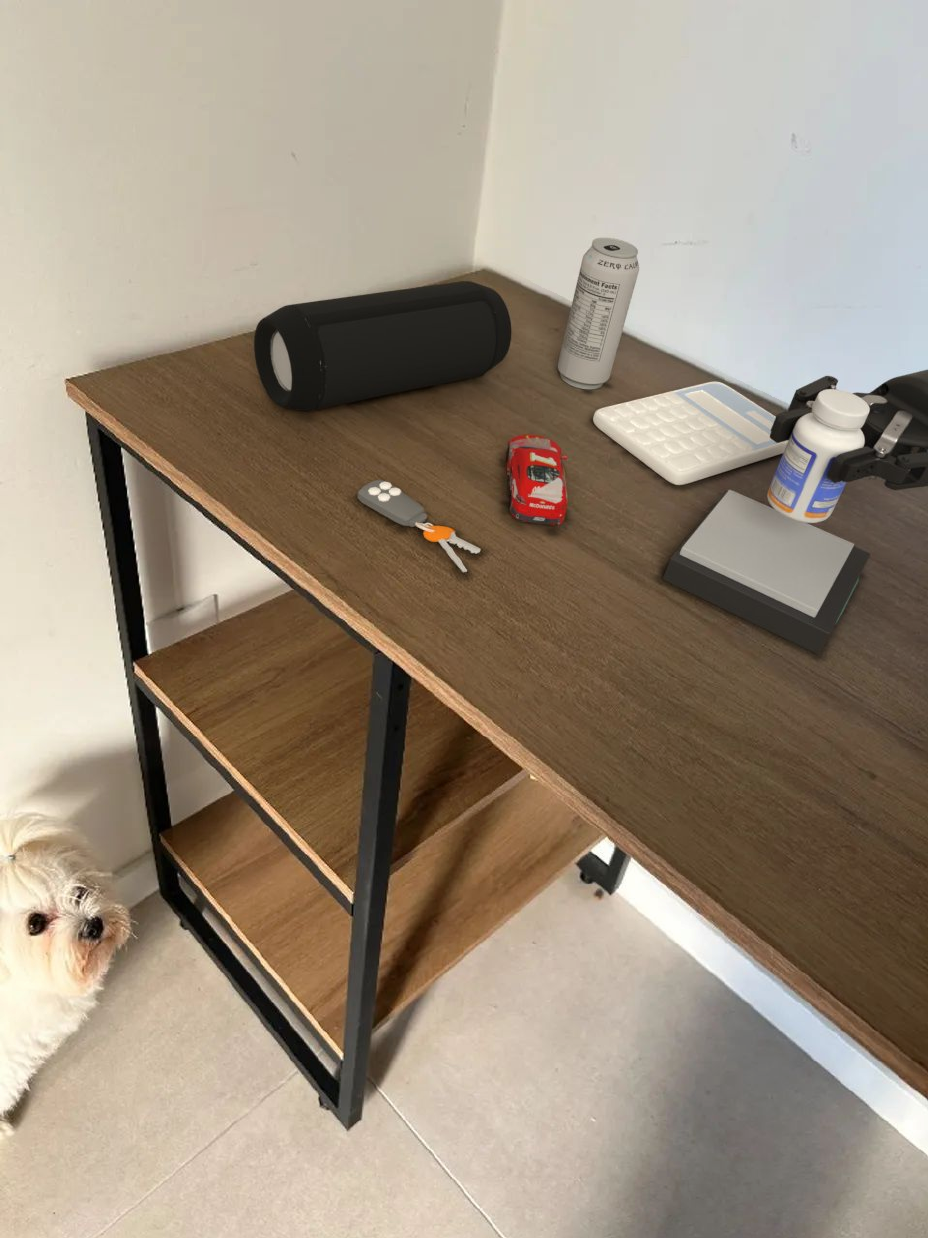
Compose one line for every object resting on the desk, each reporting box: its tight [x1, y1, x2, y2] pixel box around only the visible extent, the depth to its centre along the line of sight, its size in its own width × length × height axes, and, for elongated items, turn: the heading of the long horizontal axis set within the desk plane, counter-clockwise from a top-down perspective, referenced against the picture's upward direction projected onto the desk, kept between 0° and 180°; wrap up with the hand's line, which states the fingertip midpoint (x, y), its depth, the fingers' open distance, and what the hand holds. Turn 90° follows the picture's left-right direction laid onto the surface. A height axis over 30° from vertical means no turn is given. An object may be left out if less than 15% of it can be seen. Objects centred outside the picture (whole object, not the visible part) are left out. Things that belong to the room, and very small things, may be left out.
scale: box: [662, 489, 871, 656], centre depth 81 cm, size 14×14×3 cm
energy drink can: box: [557, 237, 640, 390], centre depth 101 cm, size 6×6×15 cm
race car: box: [505, 434, 569, 527], centre depth 86 cm, size 13×5×4 cm, turn 178°
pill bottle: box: [766, 388, 870, 524], centre depth 74 cm, size 5×5×10 cm
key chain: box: [357, 479, 482, 573], centre depth 79 cm, size 13×4×2 cm, turn 50°
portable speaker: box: [253, 280, 513, 412], centre depth 94 cm, size 26×10×10 cm, turn 126°
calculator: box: [592, 381, 789, 486], centre depth 99 cm, size 13×20×2 cm, turn 125°
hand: (805, 449), depth 72 cm, fingers closed on pill bottle, 5 cm apart
